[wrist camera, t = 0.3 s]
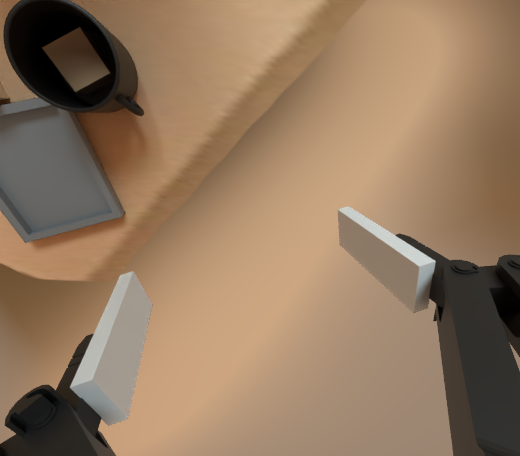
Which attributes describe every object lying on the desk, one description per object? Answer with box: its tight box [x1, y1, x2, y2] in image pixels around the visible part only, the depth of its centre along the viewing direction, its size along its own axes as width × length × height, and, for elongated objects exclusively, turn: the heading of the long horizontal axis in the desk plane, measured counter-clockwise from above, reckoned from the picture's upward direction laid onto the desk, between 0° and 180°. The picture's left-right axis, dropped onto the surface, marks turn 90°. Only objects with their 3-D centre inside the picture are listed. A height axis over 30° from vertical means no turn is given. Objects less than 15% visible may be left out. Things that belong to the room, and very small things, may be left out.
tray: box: [0, 98, 125, 243], centre depth 34 cm, size 17×14×2 cm
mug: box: [4, 0, 144, 116], centre depth 28 cm, size 9×12×9 cm
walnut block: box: [42, 27, 116, 94], centre depth 29 cm, size 4×4×4 cm
